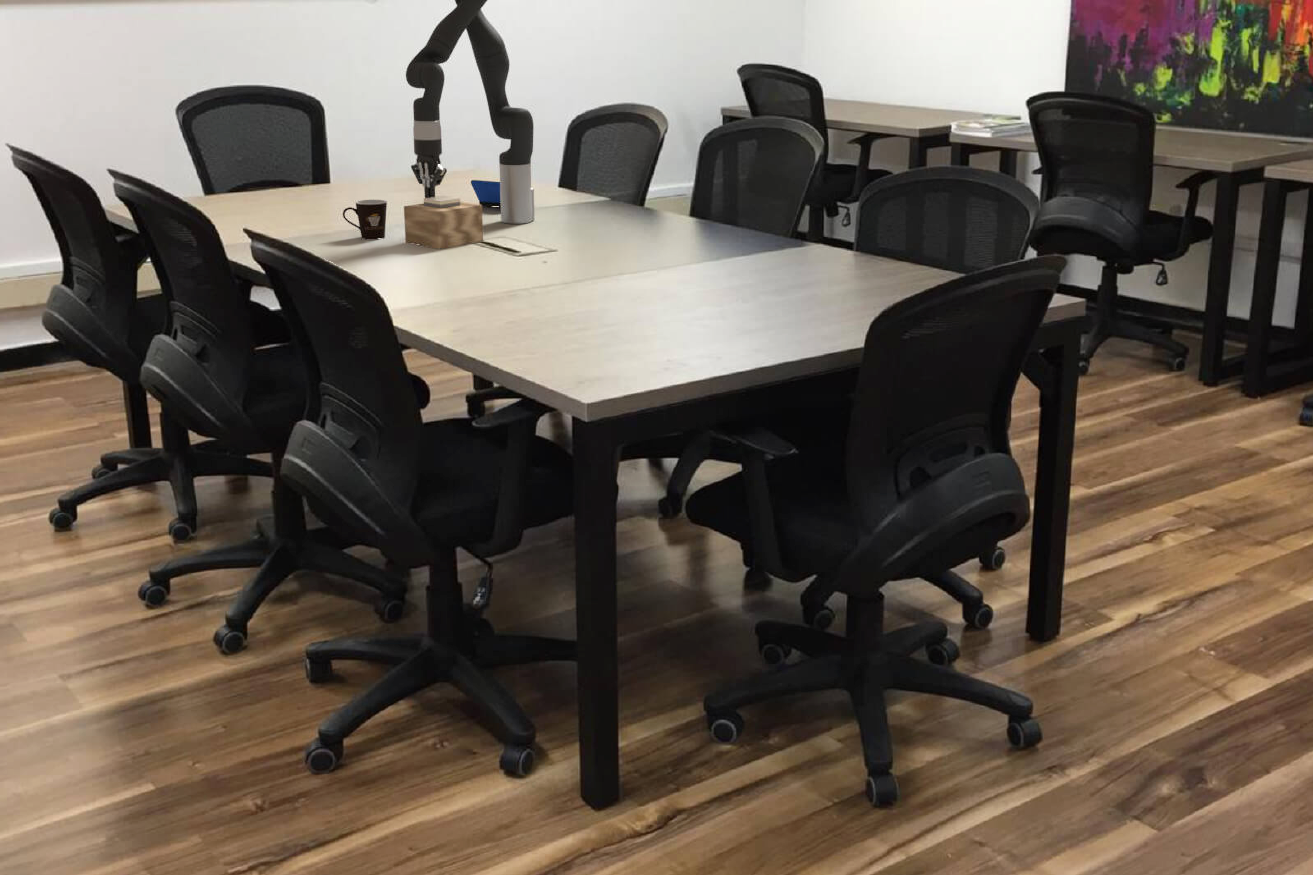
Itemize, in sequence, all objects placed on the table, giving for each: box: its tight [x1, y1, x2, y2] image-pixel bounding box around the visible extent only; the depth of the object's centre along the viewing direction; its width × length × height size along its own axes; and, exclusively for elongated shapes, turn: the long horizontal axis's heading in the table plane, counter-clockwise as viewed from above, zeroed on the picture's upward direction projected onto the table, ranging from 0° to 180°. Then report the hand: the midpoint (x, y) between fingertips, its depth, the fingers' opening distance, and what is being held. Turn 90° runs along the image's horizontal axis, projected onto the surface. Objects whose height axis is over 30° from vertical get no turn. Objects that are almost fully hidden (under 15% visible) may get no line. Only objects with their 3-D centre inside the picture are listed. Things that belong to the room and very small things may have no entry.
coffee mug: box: [342, 199, 388, 240], centre depth 416 cm, size 12×9×10 cm
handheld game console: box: [470, 179, 501, 207], centre depth 467 cm, size 16×13×9 cm
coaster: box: [423, 195, 461, 208], centre depth 408 cm, size 7×7×2 cm
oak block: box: [403, 201, 484, 250], centre depth 410 cm, size 16×14×10 cm
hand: (430, 200), depth 411 cm, fingers closed
